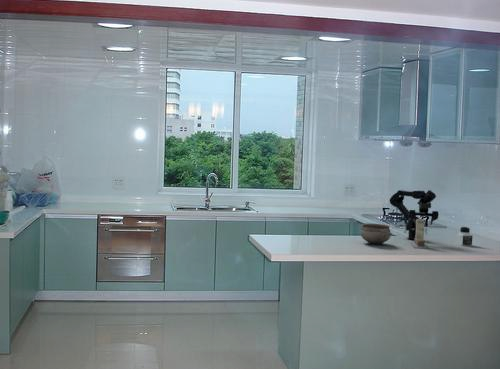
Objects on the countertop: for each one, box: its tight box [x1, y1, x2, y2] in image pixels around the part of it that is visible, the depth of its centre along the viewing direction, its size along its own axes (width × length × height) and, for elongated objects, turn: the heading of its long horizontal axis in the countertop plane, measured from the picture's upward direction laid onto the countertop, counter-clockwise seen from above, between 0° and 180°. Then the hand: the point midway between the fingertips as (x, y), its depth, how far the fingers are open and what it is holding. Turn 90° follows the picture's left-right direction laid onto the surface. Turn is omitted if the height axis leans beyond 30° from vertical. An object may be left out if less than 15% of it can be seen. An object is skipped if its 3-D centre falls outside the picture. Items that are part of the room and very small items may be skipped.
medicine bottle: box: [456, 226, 474, 247], centre depth 399 cm, size 7×7×12 cm
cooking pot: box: [359, 222, 393, 246], centre depth 386 cm, size 25×19×12 cm
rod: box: [415, 218, 426, 242], centre depth 385 cm, size 4×4×13 cm
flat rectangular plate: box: [409, 238, 430, 250], centre depth 385 cm, size 20×9×4 cm, turn 173°
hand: (423, 224), depth 394 cm, fingers open, 9 cm apart
